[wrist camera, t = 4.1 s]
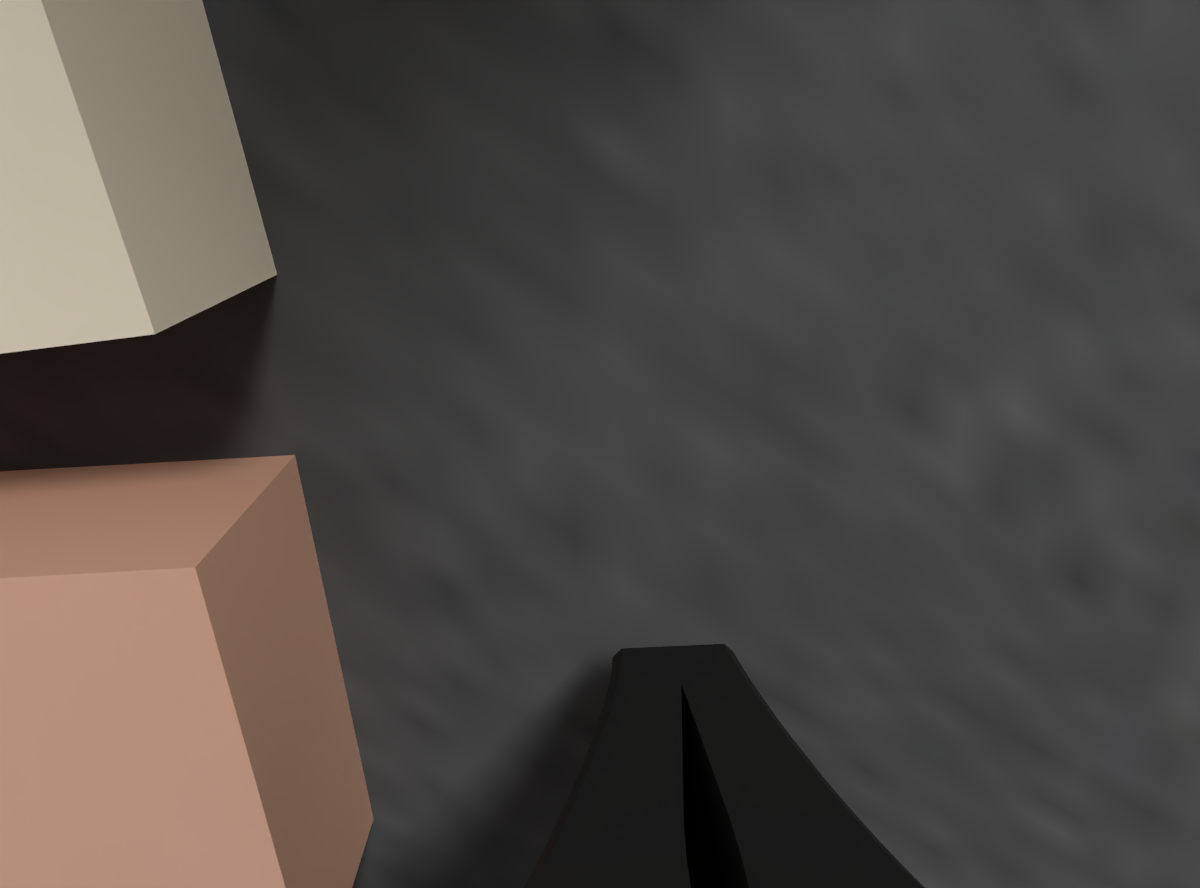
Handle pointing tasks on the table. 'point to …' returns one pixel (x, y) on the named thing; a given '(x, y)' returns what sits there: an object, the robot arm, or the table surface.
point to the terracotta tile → (171, 683)
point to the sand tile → (117, 173)
